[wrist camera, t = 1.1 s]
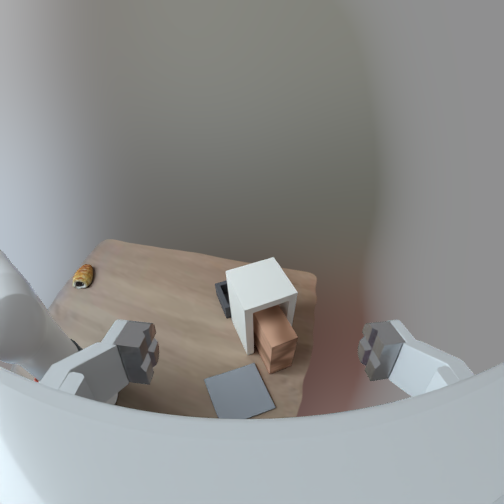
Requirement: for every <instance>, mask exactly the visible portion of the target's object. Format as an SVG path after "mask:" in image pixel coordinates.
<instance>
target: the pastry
mask: <svg viewBox="0 0 504 504" xmlns="http://www.w3.org/2000/svg"><path fill="white" fill-rule="evenodd" d="M92 280H93V268H92V266H91V265H87V264H85V265H83V266H82V267H81V268H79V270H77V272H76V273H75V276H74V277H73V287H74V288H77V289H80V288H86V287H88V286H89V285H90V284H91V282H92Z"/></svg>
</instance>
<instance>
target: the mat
mask: <svg viewBox="0 0 504 504" xmlns="http://www.w3.org/2000/svg"><path fill="white" fill-rule="evenodd" d="M204 380H205V383H206V386H207V389H208V392H209V395H210V397H211V400H212V403H213V405H214V408H215V411H216V413H217V416H218V418H219V419H247V418H250V417H253V416H256V415H259V414H261V413H264V412H267V411H269V410H272V409H274V408H276V407H275V405H274V403H273V401H272V399H271V397H270V395H269V393H268V391H267V389H266V387H265V385H264V383H263V381H262V379H261V376H260V374H259V372H258V370H257V368H256V366H255V364H254V363H252V364H249V365H247V366H244V367H241V368H238V369H235V370H232V371H229V372H226V373H223V374H219V375H216V376H213V377H210V378H206V379H204Z"/></svg>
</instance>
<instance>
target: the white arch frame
mask: <svg viewBox="0 0 504 504" xmlns="http://www.w3.org/2000/svg"><path fill="white" fill-rule="evenodd" d="M226 278H227V286H228V294H229V301H230V309H231V316H232V321H233V324H234V326H235V328H236V331H237V333H238V335H239V337H240V340H241V342H242V344H243V346H244V348H245V351H246V353H247V355H249V354H252V353H254V334H253V313H255V312H258V311H261V310H264V309H266V308H269V307H272V306H275V305H279V306H280V308H281V310H282V311H283V313H284V315H285V316H286V318H287V320H288V321H289V323H290V325H291V326H292V323H293V317H294V311H295V305H296V299H297V293H298V292H297V291H296V289H295V288H294V286H293V285H292V283H291V282H290V281H289V279H288V278H287V276H286V275H285V273H284V272H283V270H282V269H281V267H280V266H279V264H278V263H277V261H276V260H275V259H274V257H273V258H269V259H266V260H262V261H259V262H255V263H252V264H249V265H245V266H242V267H238V268H235V269H231V270H228V271H226Z"/></svg>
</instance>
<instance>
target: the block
mask: <svg viewBox="0 0 504 504" xmlns="http://www.w3.org/2000/svg"><path fill="white" fill-rule="evenodd" d="M253 334H254V343H255V346H256V348H257V350H258V352H259V354H260V356H261V358H262V360H263V362H264V364H265V366H266V368H267V370H268V372H269V374H271V373H274V372H276V371H279V370H281V369H284V368H286V367H289V366H291V364H292V360H293V356H294V352H295V348H296V344H297V339H298V336H297V335H296V333H295V331H294V330H293V328H292V326H291V325H290V323H289V321H288V320H287V318H286V316H285V315H284V313H283V311H282V310H281V308H280V306H279V305H275V306H272V307H269V308H266V309H264V310H261V311H258V312H255V313H253Z"/></svg>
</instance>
